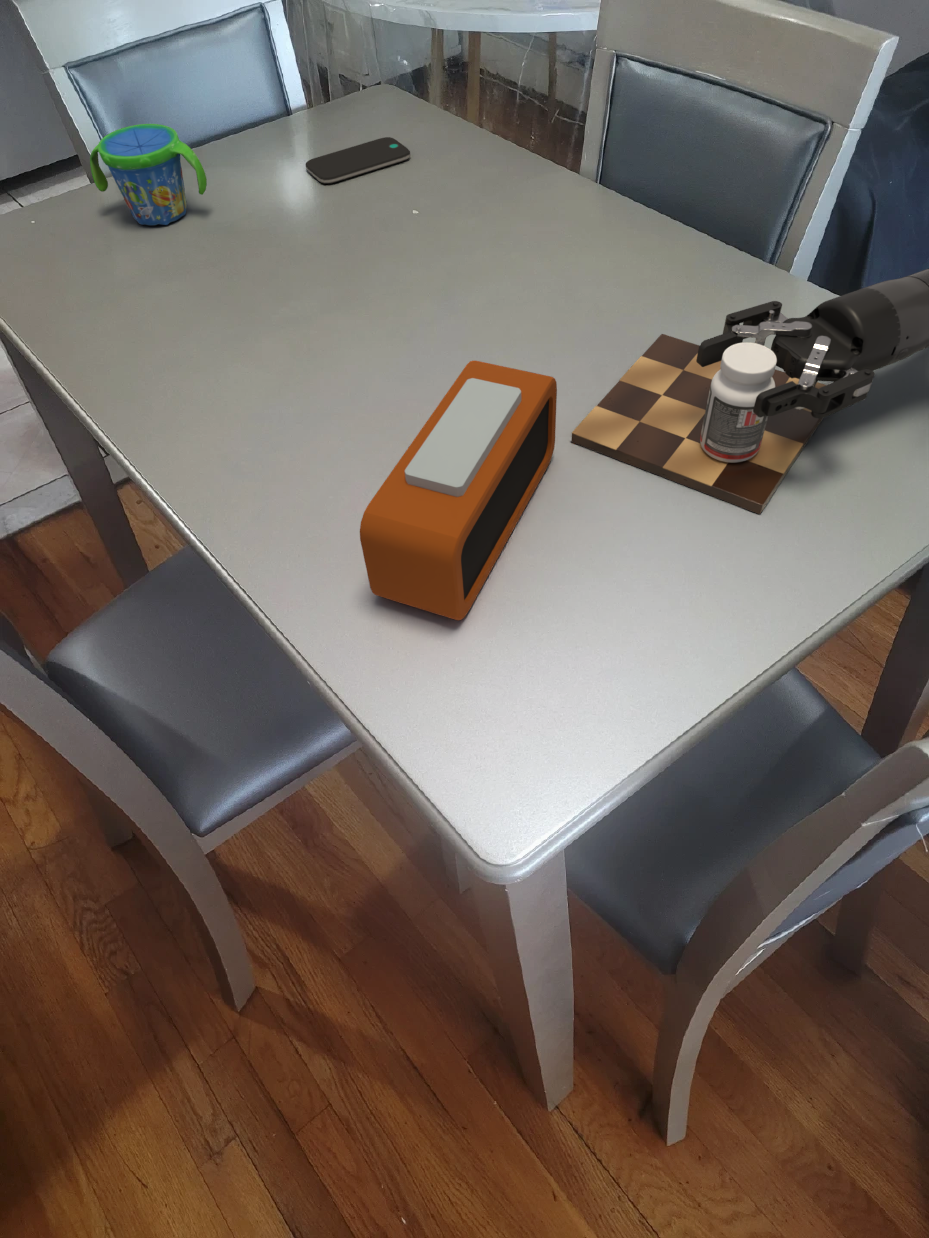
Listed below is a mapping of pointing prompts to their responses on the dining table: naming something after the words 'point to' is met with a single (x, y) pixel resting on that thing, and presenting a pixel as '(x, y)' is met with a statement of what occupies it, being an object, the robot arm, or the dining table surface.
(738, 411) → the pill bottle
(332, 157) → the smartphone
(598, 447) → the chessboard
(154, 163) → the snack cup
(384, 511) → the alarm clock
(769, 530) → the dining table surface
